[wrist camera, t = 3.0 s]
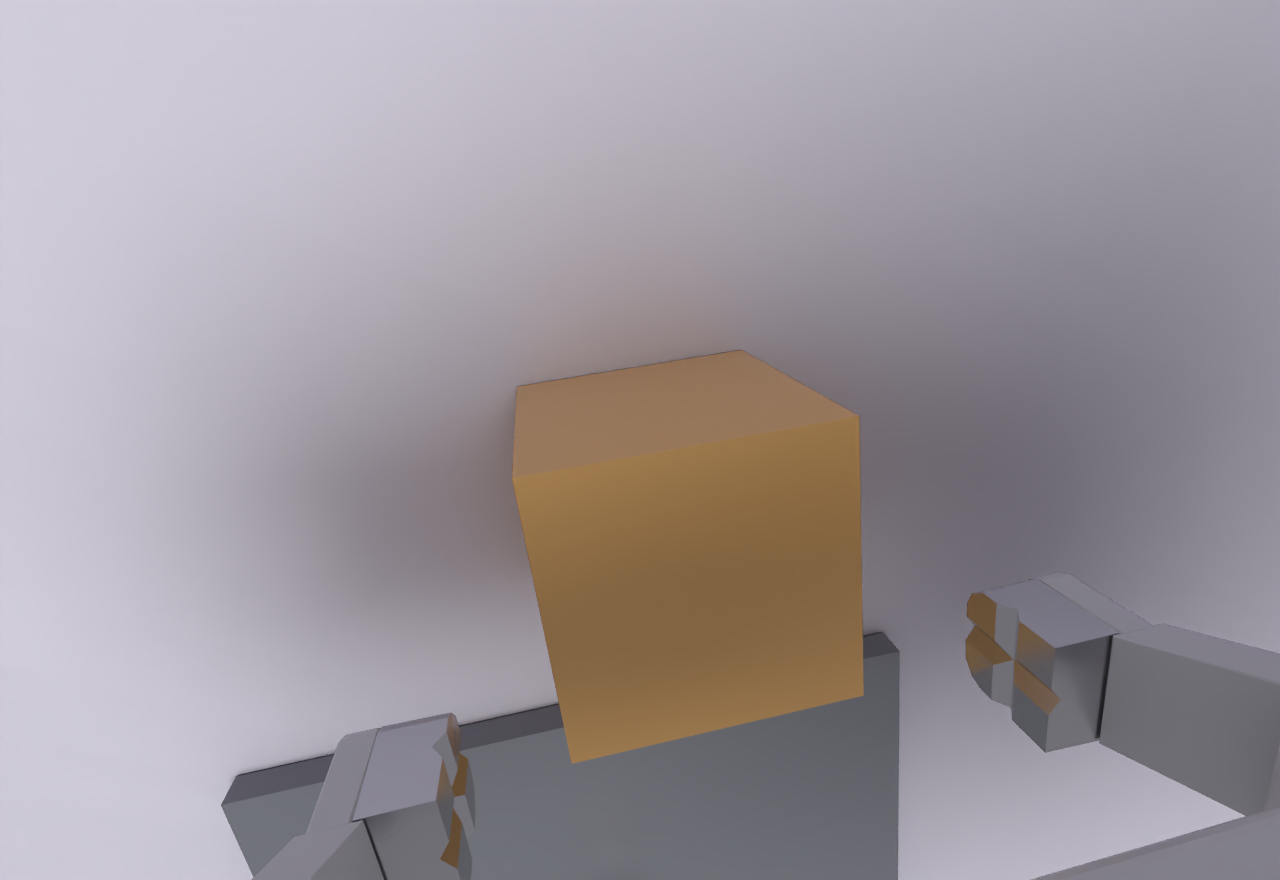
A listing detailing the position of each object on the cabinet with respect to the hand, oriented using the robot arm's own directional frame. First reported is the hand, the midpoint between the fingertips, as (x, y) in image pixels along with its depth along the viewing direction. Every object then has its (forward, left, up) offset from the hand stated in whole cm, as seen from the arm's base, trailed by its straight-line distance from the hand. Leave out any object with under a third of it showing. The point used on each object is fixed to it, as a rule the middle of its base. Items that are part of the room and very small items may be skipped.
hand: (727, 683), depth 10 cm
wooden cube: (0, 0, -9) cm, 9 cm away
